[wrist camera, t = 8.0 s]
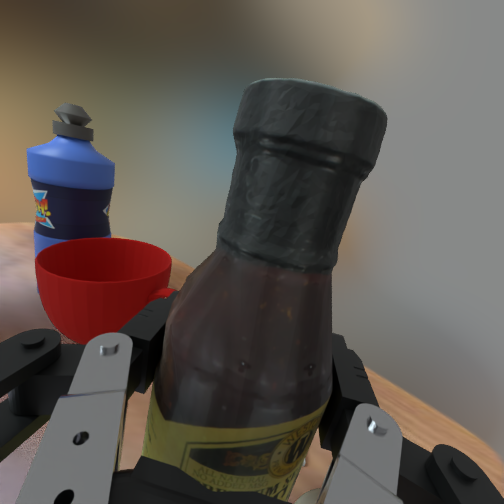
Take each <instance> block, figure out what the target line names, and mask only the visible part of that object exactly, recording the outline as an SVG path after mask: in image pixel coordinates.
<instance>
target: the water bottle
mask: <svg viewBox="0 0 504 504" xmlns="http://www.w3.org/2000/svg"><path fill="white" fill-rule="evenodd" d="M54 112H55V113H56V114H57V115H58V117H59V118H60V119H61V120H62V122H59V121H54V120H53V133H54V134H57V136H56V137H55V138H54V139H53V140H52V141H51V142H49V143H46V144H42V145H39V146H35V147H31V148H28V149H27V162H28V176H29V177H30V178H31V182H32V188H33V193H34V197H35V202H36V207H37V212H36V220H35V228H34V243H35V258H36V256H37V255H38V253H39V252H41V251H42V250H43V249H45V248H47V247H49V246H51V245H54V244H57V243H60V242H64V241H69V240H75V239H83V238H111V231H110V223H109V215H108V214H109V207H110V201H111V195H112V189H113V188H112V187H114V172H115V163H113V162H112V161H111V160H109V159H107V158H106V157H105V156H103V155H102V154H100V153H98V152H97V151H96V150H95V148H94V147H93V146H92V145H91V143H90V141H93V129H90V128H86V127H85V126H86V125H87V124H88V123H89V122H90V121H91V120H92V119H91V118H90V117H89V116H88V114H87V113H86V112H85V111H84V109H83V108H82V107H80V106H76V105H73V104H68V103H64V104H63V105H61V106H60V107H58V108H57V109H56V110H54ZM37 290H38V293H39V289H38V284H37ZM39 295H40V294H39Z"/></svg>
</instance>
